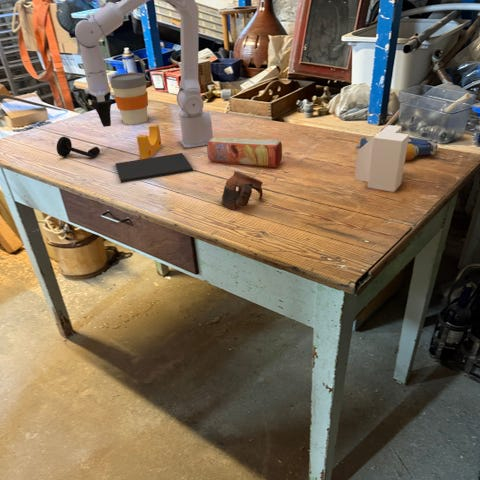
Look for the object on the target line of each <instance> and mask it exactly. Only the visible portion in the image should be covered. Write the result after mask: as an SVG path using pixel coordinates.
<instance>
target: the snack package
mask: <svg viewBox="0 0 480 480" xmlns="http://www.w3.org/2000/svg"><path fill="white" fill-rule="evenodd" d="M206 151H207V152H206V153H207V159H208V160H209V161H210V162H220V163H230V164H237V165H238V164H239V165H250V166H260V167H269V168H277V167H278V166H279V165H280V164H281V162H282V159H283V143H282V142H281V140H279V139H261V138H260V139H256V138H255V139H254V138H237V137H217V136H213V138H212V139H211V140H210V141H209V142H208V145H206Z"/></svg>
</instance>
